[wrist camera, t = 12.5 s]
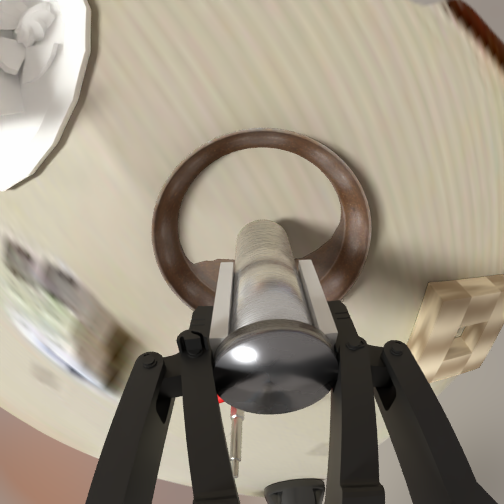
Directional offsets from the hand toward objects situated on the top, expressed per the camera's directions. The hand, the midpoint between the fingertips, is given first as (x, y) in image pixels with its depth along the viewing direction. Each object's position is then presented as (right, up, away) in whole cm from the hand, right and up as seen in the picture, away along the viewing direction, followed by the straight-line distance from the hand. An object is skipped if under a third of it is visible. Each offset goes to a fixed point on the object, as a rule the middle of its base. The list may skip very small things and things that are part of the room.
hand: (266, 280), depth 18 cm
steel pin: (0, +2, +5) cm, 5 cm away
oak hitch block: (+25, -8, +13) cm, 29 cm away
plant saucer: (0, +4, +8) cm, 8 cm away
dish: (-27, +20, -1) cm, 33 cm away
